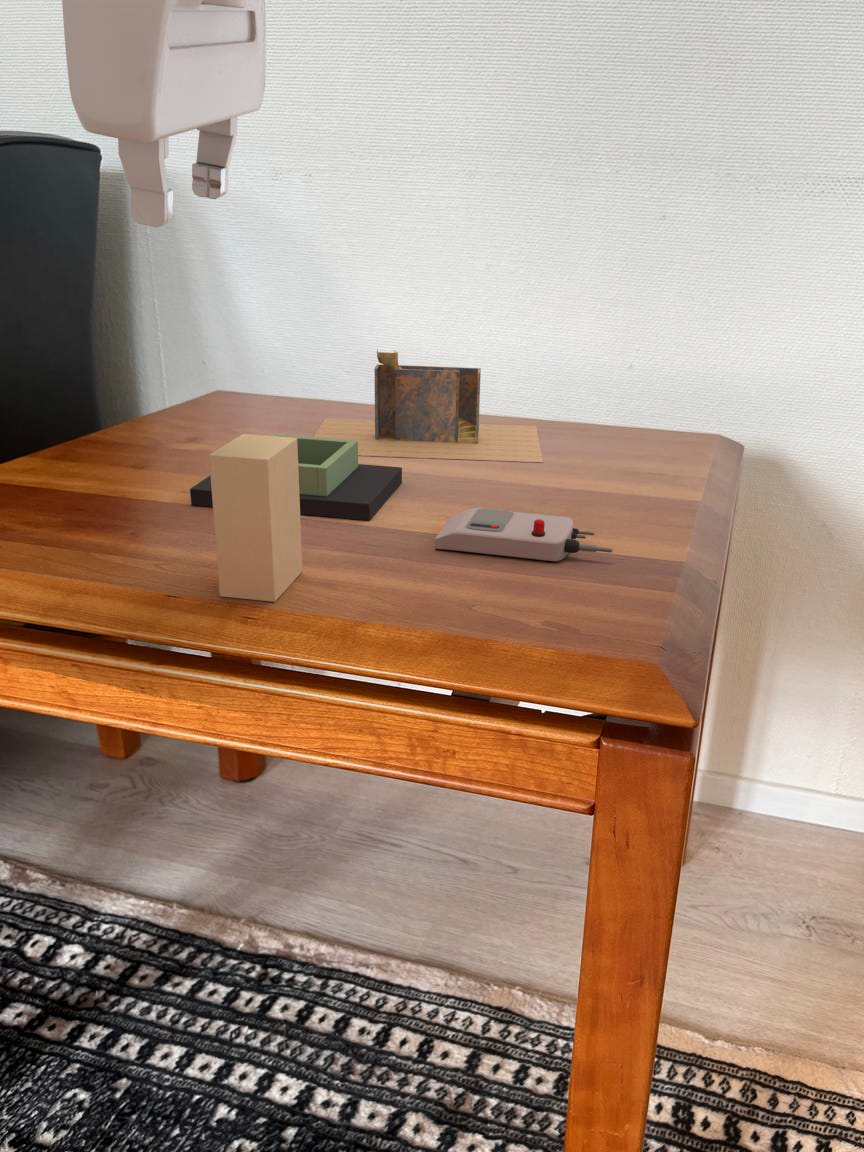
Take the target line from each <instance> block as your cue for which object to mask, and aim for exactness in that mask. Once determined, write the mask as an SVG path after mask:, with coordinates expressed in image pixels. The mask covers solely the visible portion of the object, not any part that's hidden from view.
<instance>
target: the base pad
mask: <svg viewBox="0 0 864 1152" xmlns="http://www.w3.org/2000/svg"><path fill="white" fill-rule="evenodd" d="M274 436H277V437H290V438H297V447H298V472H299V497H300V516H301V515H303V516H313V517H324V518H325V517H326V518H334V519H335V518H337V519H347V520H357V521H359V520H360V521H370V520H371V519H372V518H373V517H374V516H375V515H376V514H377V513H378V511H379V510H380V509H381V507H382V506H383V505H384V504H385V503H386V501H388V499H389V498H390V497H391V496H392V495H393V494H394V492H395V491H396V490H397V489H398V488H399V486H400V485H401V484H402V483H403V467H401V466H389V465H388V466H387V465H377V464H375V465H374V464H363V463H359V456H358V441H356V440H343V439H330V438H317V437H313V436H304V435H303V436H302V435H288V434H275V435H274ZM189 494H190V504H191V506H199V507H211V508H213V501H212V488H211V475H209V476H207V477H205V478H204V479H203V480H200V481H199V482H198V483H197V484H195V485H194V486H191V488H190V489H189Z"/></svg>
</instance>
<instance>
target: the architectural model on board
mask: <svg viewBox="0 0 864 1152" xmlns="http://www.w3.org/2000/svg"><path fill="white" fill-rule="evenodd" d="M376 359H377V362H378V363H377V364H376V365H375V367H374V419H360V418H359V419H358V418H357V419H356V418H333V417H332V418H329V417H326V418H324V419H323V421H322V423H321V424H320V426H319V427H318V429H317V430H316V432H315V434H314V435H313V436H312V437H317V438H330V439H343V440H356V441H358V457H359V456H363V457H384V458H386V457H389V458H412V459H413V458H416V459H441V460H465V461H466V460H467V461H468V460H469V461H492V462H493V461H494V462H495V461H496V462H522V463H544V460H543V454H542V449H541V448H542V447H541V443H540V437H539V432H538V431H539V430H538V427H537V425H521V424H520V425H518V424H517V425H516V424H494V423H493V424H491V423H489V424H487V423H480V402H481V401H480V400H481V373H482V368H481V367H461V366H459V367H458V366H457V367H456V366H455V367H454V366H435V365H434V366H431V365H430V366H429V365H408V364H407V365H406V364H399V352H397V351H396V350H394V352H388V351H386V352H385V351H384V352H383V351H378V349H376Z"/></svg>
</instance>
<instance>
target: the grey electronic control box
mask: <svg viewBox="0 0 864 1152" xmlns="http://www.w3.org/2000/svg"><path fill="white" fill-rule="evenodd" d="M587 536H595V532H594V531H588V530H587V531H586V530H580V529H579V528H575V527H574V520H573V519H572V518H571V517H569V516H561V515H560V516H559V515H550V514H540V513H531V512H530V513H529V512H520V511H519V512H518V511H510V510H502V509H492V508H480V507H472V508H468V509H465V510H463V511H460V512H457V513H455V514H454V515H452V517H450V519H449V520H448V521H447V522H446V524H445V525H444V526H443V528H442V529H441V530H440V531H439V532H438V534H437V535H436V537H435V540H434V549H436V550H445V551H455V552H456V551H457V552H466V553H474V554H484V555H490V556H491V555H492V556H501V557H510V558H520V559H529V560H536V561H537V560H539V561H546V562H560V561H562V560H563V559H565V557H566V556H567V555H568V553H569V554H575V553H578V552H579V551H582V552H591V553H596V552H602V553H612V552H613V548H610V547H603V546H598V545H596V544H595V545H594V544H585V543H580V541H579V540H577V539H583V540H584V539H585V540H586V538H587ZM420 538H421V536H420ZM420 538H419V539H420Z"/></svg>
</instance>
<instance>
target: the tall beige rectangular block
mask: <svg viewBox="0 0 864 1152" xmlns="http://www.w3.org/2000/svg"><path fill="white" fill-rule="evenodd" d="M208 460H209V474H210V475H211V488H212V501H213V507H212V513H213V526H214V537H215V549H216V550H215V553H216V564H217V577H218V590H219V597H222V598H232V599H239V600H240V599H241V600H252V601H262V602H271V603H272V602H273V603H275V602H276V601H277V600H278V599H279V598H280V597H281V596H282V595H283V594H284V592H286V591H287V590H288V588H289V587H290V586H291V585H292V584H293V583H294V582H295V580H296V579H297V578H298V577H299V576H300V575H301V574H302V573H303V551H302V550H303V548H302V547H303V546H302V527H301V526H302V525H301V514H300V497H299V472H298V447H297V438H290V437H277V436H275V435H264V434H263V435H262V434H250V433H242V434H241V435H239V436H237V437H236V438H234V439H232V440H230V441H229V442H228V443H226V444H224V445H223V446H221V447H220V448H218V449H216V450H215V451H213V452H211V453H210V454H208ZM210 475H209V476H210Z"/></svg>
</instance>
